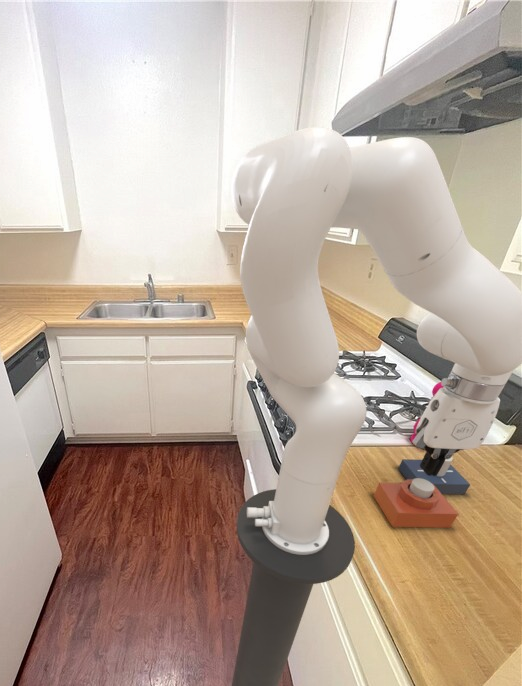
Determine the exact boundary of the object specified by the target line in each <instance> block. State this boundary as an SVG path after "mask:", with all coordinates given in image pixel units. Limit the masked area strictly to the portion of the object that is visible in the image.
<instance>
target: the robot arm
mask: <svg viewBox="0 0 522 686" xmlns="http://www.w3.org/2000/svg"><path fill="white" fill-rule="evenodd" d="M230 189H231V190H230V191H231V192H230V193H231V201H232V205H233V208H234V211H235V212H236V214H237V215H238V217H239V218H240V220H242V221H243V223H245V224H247V225H248V228H247V232H246V235H245V237H244V238H245V239H244V243H243V245H242V246H243V247H242V251H241V256H240V257H241V258H240V265H239V279H240V286H241V290H242V293H243V297H244V299H245V302H246V306H247V308H248V310H249V313H250V317H249V319H248V322H247V324H246V328H245V343H246V346H247V350H248V352H249V354H250V357H251V359H252V360H253V363H254V364H255V367H256V369H257V371H258V373H259V374H260V377H261V378H262V381H263V382H264V384H265V387H266V388H267V390H268V392H269V393H270V396H271V397H272V398H273V400H274V401H275V402H276V404H277V405H278V406H279V407H280V408H281V409H282V410H283V411H284V412H285V413H286V415H287V416H288V417H289V418H290V420H291V421H293V423H294V425H295V433H294V435H293V436H291V437H290V438H289V439H288V441H287V442H286V444H285V445H284V448H283V452H282V457H281V463H280V468H279V473H278V478H277V483H276V488H275V489H276V493H275V498H274V501H269V504H268V506H263V508H253V507H247V517H249V518H257V517H262V519H255V526H262V529H263V532H264V534H265V536H266V537H267V538H268V539H269V541H270V542H272V543H273V544H274V545H275V546H277V547H278V548H280V549H282V550H284V551H286V552H289V553H292V554H298V555H308V554H313V553H316V552H318V551H320V550H321V549H322V548H323V547H324V546H325V545H326V543H327V541H328V537H329V529H328V525H327V523H326V521H325V517H326V514H327V511H328V508H329V505H331V502H332V499H333V495H334V493H335V489H336V487H337V484H338V480H339V477H340V473H341V470H342V468H343V464H344V462H345V459H346V456H347V454H348V452H349V450H350V449H351V446H352V444H353V443H354V441H355V439H356V438H357V436H358V434H359V432H360V431H361V429H362V428H363V426H364V424H365V421H366V418H367V404H366V401H365V400H364V397H363V396H362V394H361V393H360V392H359V391H358V390H357V389H356V387H354V386H353V385H352V384H351V383H350V382H348V381H347V380H345V379H344V378H342V377H341V376H339V375H338V374H337V373H335V372H336V370H337V369H338V365H339V361H340V346H339V341H338V338H337V335H336V331H335V328H334V326H333V323H332V322H333V321H332V320H331V315H330V314H329V309H328V307H327V304H326V300H325V297H324V294H323V290H322V286H321V282H320V276H319V260H320V255H321V252H322V248H323V245H324V243H325V241H326V239H327V236H328V234H329V232H330V230H331V228H332V229H333V228H337V229H338V228H340V229H350V230H357V231H359V232H360V233H362V235H363V236H364V238H365V239H366V241H367V243H368V245H369V247H370V248H371V250H372V251H373V253H374V255H375V257H376V259H377V260H378V262H379V263H380V265H381V267H382V268H383V271H384V273H385V274H386V277H387V278H388V280H389V281H390V283H391V285H392V286H393V288H394V289H395V290H396V292H398V293H399V294H400V295H402V296H403V297H405V299H407V300H409V301H410V302H411V303H413V304H414V305H415V306H418V307H420V308H421V309H423V310H425V311H427V314H426V315H425V316H424V317H423V318H422V319H421V321H420V322H419V323H418V326H417V329H416V339H417V342H418V344H419V345H420V346H421V348H423V349H424V350H425V351H427V352H429V353H430V354H432V355H435V356H437V357H439V358H441V359H443V360H446V361H449V362H452V363H454V364H453V367H452V369H451V371H450V373H449V374H448V377H444V378H442V379H441V380H440V382H441V385H442V386H444V388H440V389H439V390H438V392H437V393H436V394H435V396H434V397H433V396H432V397H433V398H432V397H431V398H432V400H431V399H430V400H431V401H430V400H429V403H428V404H427V406H426V407H425V410H424V411H423V412H422V415H421V417H420V418H421V419H420V418H419V419H420V420H419V423H418V425H417V427H416V431H415V432H414V433H416V434H417V436H416V437H415V438H414V439H413V441H412V442H411V444H412V445H414V447H416V448H418V449H422V448H424V449H423V450H424V452H425V454H424V456H423V458H422V459H421V460H422V462H421V464H420V467H421V468H422V470H423V471H424V472H425V473H426V474H427V475H429V476H431V475H433V476H437V474H438V473H439V471H440V469H441V467H442V465H443V464H444V462H445V459H450V458H451V457H453V455H454V454H456V453H458V452H460V451H464V450H476V449H478V448H480V447H481V446H482V444H483V443H484V441H485V440H486V437H487V436H488V434H489V431H490V430H491V428H492V426H493V424H494V422H495V419H496V417H497V415H498V411H499V408H500V403H501V399H500V397H499V396H500V394H501V393H502V391H503V389H504V388H505V386H506V384H507V382H508V381H509V379H510V377H511V376H512V374H513V372H514V370H516V369H517V368H519V367H520V366H521V365H522V291H521V290H520V289H519V288H518V286H517V285H516V284H515V283H514V282H513V281H512V280H511V279H510V278H509V277H508V276H506V275H505V274H504V273H503V272H502V271H501V270H500V269H498V268H497V266H495V264H493V263H492V262H491V261H490V260H489V259H488V258H486V256H485V255H483V254H482V252H480V251H478V250H477V249H476V248H474V246H473V245H471V243H470V242H469V241H468V238H467V236H466V233H465V231H464V227H463V225H462V222H461V219H460V217H459V214H458V212H457V209H456V206H455V203H454V201H453V198H452V195H451V193H450V190H449V189H450V188H449V187H448V184H447V181H446V178H445V176H444V173H443V171H442V168H441V165H440V163H439V160H438V158H437V155H436V154H435V151H434V150H433V148H432V147H431V146H430V145H429V144H428V143H427V142H426V141H425V140H423V139H421V138H418V137H413V136H401V137H394V138H387V139H383V140H379V141H374V142H369V143H366V144H360V145H355V146H349V144H348V143H347V140H346V138H344V137H343V135H342V134H341V133H340V132H338V131H337V130H334V129H333V128H329V127H324V126H311V127H305V128H301V129H298V130H294V131H292V132H289V133H286V134H284V135H281V136H279V137H276V138H273V139H270V140H268V141H264V142H262V143H260V144H258V145H256V146H254V147H253V148H252V149H250V150H248V152H247V153H245V154H244V155H243V156H242V158H241V159H240V160H239V163H238V164H237V166H236V168H235V169H234V173H233V175H232V180H231V186H230Z"/></svg>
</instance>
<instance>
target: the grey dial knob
mask: <svg viewBox="0 0 522 686" xmlns="http://www.w3.org/2000/svg"><path fill="white" fill-rule="evenodd" d="M453 460H454V458H453V456H452V457H451V458H450V459H445V462H444V464H443V465H442V467H441V469H440V471H439V473H438V474H437V476H439V477H441V476H444V475H445V473H446V472H447V470H448V468H449V466H450V464H451V465H452V462H453Z"/></svg>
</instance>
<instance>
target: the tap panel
mask: <svg viewBox="0 0 522 686" xmlns="http://www.w3.org/2000/svg"><path fill="white" fill-rule="evenodd" d="M422 460H423V459H413V458H412V459H407V458H406V459H401V461H400V463H399V466H398V470H399V472H400V473H401V474H402V476H403V477H404V478H405V480H407V479H415V478H421V479H425V480H427V481H429V482H431V483H432V484H434V485H435V487H436V488H437V489H438V490H439V491H440V493H441V494H442V495H465V494H466V493H467V491H468V490H469V488H470V486H471V484H470V482H469V481H468V480H467V479H466V478H465V477H464V476H463V475H462V474H461V473H460V472H459V471H458V470H457V469H456V468H455V467H454V466H453V465H452V463H451V464H450V466H449V468H448V470H447V472H446V473H445V475H444V476H441V477H439V476H433V475H431V476H429V475H427V474H426V473H425V472H424V471H423V470H422V468H421V467H420V464H421V462H422Z"/></svg>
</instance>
